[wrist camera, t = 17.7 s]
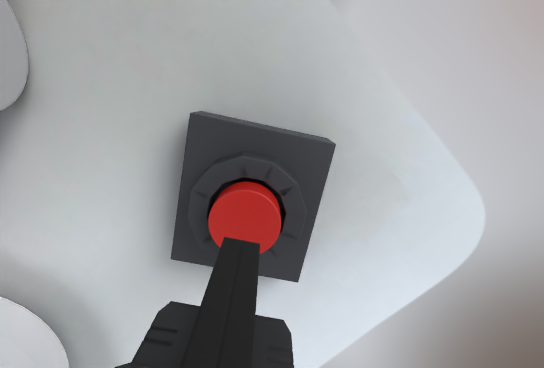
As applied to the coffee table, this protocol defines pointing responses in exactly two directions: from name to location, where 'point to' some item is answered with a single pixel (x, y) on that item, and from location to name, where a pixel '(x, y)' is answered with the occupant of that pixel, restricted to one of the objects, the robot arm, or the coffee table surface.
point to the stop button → (246, 215)
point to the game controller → (11, 57)
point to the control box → (252, 168)
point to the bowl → (27, 340)
